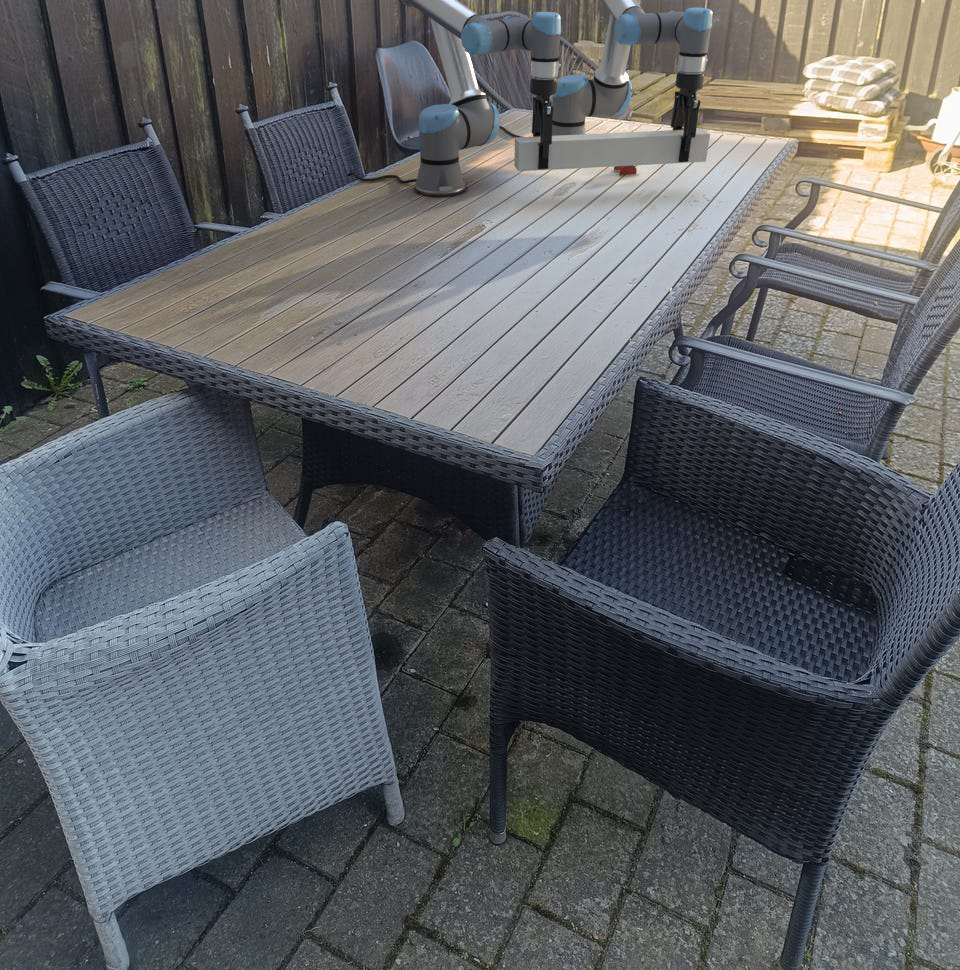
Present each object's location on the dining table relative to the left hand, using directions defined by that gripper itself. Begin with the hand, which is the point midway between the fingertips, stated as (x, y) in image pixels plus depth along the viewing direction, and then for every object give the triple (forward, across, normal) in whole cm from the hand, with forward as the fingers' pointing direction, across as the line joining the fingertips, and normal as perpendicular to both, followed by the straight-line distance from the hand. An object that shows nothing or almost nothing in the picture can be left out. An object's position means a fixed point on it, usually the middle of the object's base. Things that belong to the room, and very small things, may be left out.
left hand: (540, 165), depth 242 cm
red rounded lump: (+11, +25, -35) cm, 44 cm away
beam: (0, -1, -21) cm, 21 cm away
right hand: (0, -1, -42) cm, 42 cm away
